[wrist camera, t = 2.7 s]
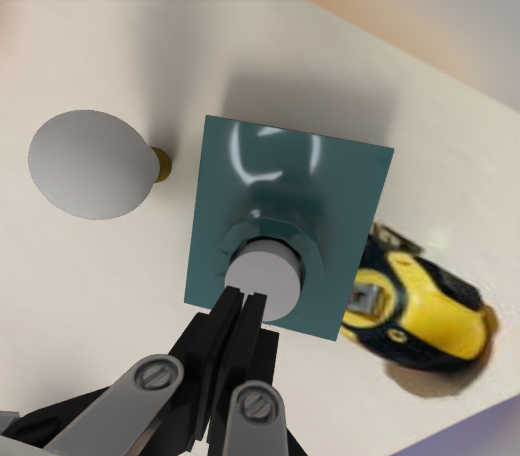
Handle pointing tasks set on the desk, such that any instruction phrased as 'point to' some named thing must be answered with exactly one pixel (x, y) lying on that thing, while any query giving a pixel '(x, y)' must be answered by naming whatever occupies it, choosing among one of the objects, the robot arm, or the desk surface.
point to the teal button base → (285, 212)
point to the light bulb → (94, 164)
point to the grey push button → (267, 276)
